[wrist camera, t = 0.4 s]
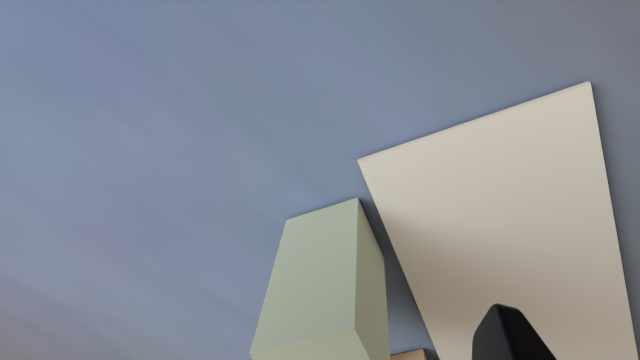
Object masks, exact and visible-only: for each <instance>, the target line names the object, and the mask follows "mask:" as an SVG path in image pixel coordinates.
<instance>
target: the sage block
mask: <svg viewBox="0 0 640 360" xmlns="http://www.w3.org/2000/svg"><path fill="white" fill-rule="evenodd" d="M250 356H251V357H252V359H253V360H390V347H389V330H388V314H387V298H386V281H385V265H384V257H383V255H382V252H381V250H380V248H379V245H378V243H377V241H376V238H375V236H374V234H373V231H372V229H371V227H370V224H369V222H368V220H367V217H366V215H365V213H364V210H363V208H362V206H361V203H360V201H359V199H358V197H357V198H354V199H351V200H348V201H345V202H342V203H339V204H335V205H332V206H329V207H326V208H323V209H320V210H317V211H313V212H310V213H307V214H304V215H301V216H298V217H295V218H291V219H288V220H286V223H285V227H284V231H283V234H282V238H281V242H280V245H279V249H278V252H277V256H276V260H275V263H274V267H273V271H272V274H271V278H270V281H269V285H268V289H267V292H266V296H265V300H264V303H263V307H262V311H261V314H260V318H259V321H258V325H257V329H256V332H255V336H254V340H253V343H252V347H251V351H250Z"/></svg>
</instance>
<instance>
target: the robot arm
mask: <svg viewBox="0 0 640 360" xmlns="http://www.w3.org/2000/svg"><path fill="white" fill-rule="evenodd" d="M472 360H557V359H556V358H555V356H554V355H553V354H552V352H551V351H550V349H549V348H548V347H547V345H546V344H545V343H544V341H543V340H542V339H541V337H540V336H539V335H538V333H537V332H536V331H535V329H534V328H533V326H532V325H531V324H530V322H529V321H528V320H527V318H526V317H525V316H524V314H523V313H522V312H521V311H520V310H519V309H517V308H515V307H511V306H507V305H503V304H499V303H495V304H493V305H492V306H491V307H490V308H489V310H488V311H487V313H486V315H485V316H484V318H483V319H482V321H481V322H480V324H479V326H478V327H477V329H476V331H475V333H474V336H473V341H472Z"/></svg>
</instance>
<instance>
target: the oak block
mask: <svg viewBox="0 0 640 360" xmlns="http://www.w3.org/2000/svg"><path fill="white" fill-rule="evenodd" d="M390 360H428V359H427V357H426V355H425V352H424V350H423V349H419V350H415V351H410V352H406V353H401V354H397V355H393V356H390Z"/></svg>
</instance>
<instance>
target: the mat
mask: <svg viewBox="0 0 640 360" xmlns="http://www.w3.org/2000/svg"><path fill="white" fill-rule="evenodd" d="M358 164H359V166H360V168H361V171H362V173H363V176H364V178H365V180H366V183H367V185H368V188H369V190H370V192H371V195H372V197H373V200H374V202H375V205H376V207H377V209H378V212H379V214H380V217H381V219H382V221H383V224H384V226H385V229H386V231H387V233H388V236H389V238H390V241H391V243H392V245H393V248H394V250H395V253H396V255H397V258H398V260H399V262H400V265H401V267H402V270H403V272H404V274H405V277H406V279H407V282H408V284H409V286H410V289H411V291H412V294H413V296H414V298H415V301H416V303H417V306H418V308H419V311H420V313H421V315H422V318H423V320H424V323H425V325H426V327H427V330H428V332H429V335H430V337H431V339H432V342H433V344H434V347H435V349H436V352H437V354H438V356H439V359H440V360H472V341H473V336H474V333H475V331H476V329H477V327H478V326H479V324H480V322H481V321H482V319H483V318H484V316H485V315H486V313H487V311H488V310H489V308H490V307H491V306H492V305H493V304H495V303H499V304H503V305H507V306H511V307H515V308H517V309H519V310H520V311H521V312H522V313H523V314H524V316H525V317H526V318H527V320H528V321H529V322H530V324H531V325H532V326H533V328H534V329H535V331H536V332H537V333H538V335H539V336H540V337H541V339H542V340H543V341H544V343H545V344H546V345H547V347H548V348H549V349H550V351H551V352H552V354H553V355H554V356H555V358H556V359H557V360H638V354H637V348H636V342H635V337H634V331H633V325H632V319H631V313H630V308H629V302H628V296H627V290H626V284H625V279H624V273H623V267H622V261H621V256H620V250H619V244H618V238H617V232H616V227H615V221H614V215H613V209H612V203H611V198H610V192H609V186H608V180H607V175H606V169H605V163H604V157H603V151H602V146H601V140H600V134H599V128H598V122H597V117H596V111H595V105H594V99H593V94H592V88H591V83H590V82H588V81H587V82H584V83H581V84H578V85H575V86H572V87H569V88H566V89H563V90H561V91H558V92H555V93H552V94H549V95H546V96H543V97H540V98H537V99H534V100H531V101H528V102H525V103H522V104H519V105H516V106H513V107H510V108H507V109H504V110H502V111H499V112H496V113H493V114H490V115H487V116H484V117H481V118H478V119H475V120H472V121H469V122H466V123H463V124H460V125H457V126H454V127H451V128H448V129H445V130H443V131H440V132H437V133H434V134H431V135H428V136H425V137H422V138H419V139H416V140H413V141H410V142H407V143H404V144H401V145H398V146H395V147H392V148H389V149H386V150H384V151H381V152H378V153H375V154H372V155H369V156H366V157H363V158H360V159H358Z"/></svg>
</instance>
